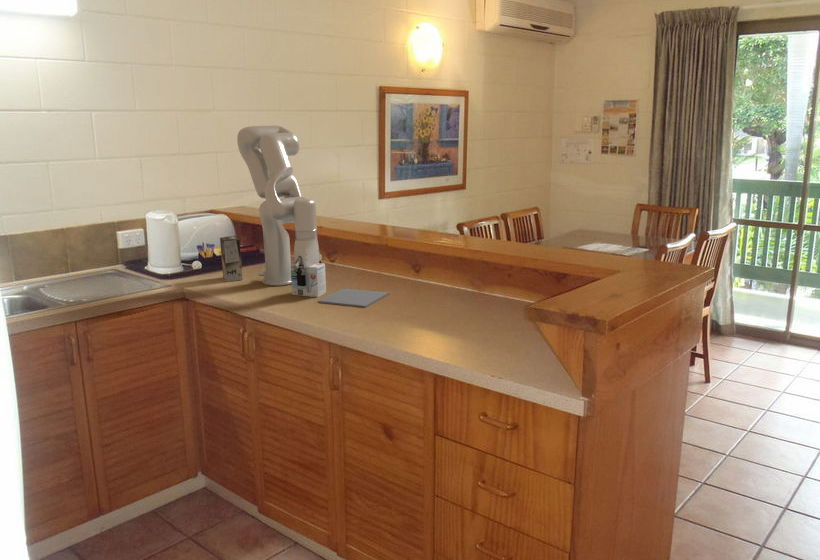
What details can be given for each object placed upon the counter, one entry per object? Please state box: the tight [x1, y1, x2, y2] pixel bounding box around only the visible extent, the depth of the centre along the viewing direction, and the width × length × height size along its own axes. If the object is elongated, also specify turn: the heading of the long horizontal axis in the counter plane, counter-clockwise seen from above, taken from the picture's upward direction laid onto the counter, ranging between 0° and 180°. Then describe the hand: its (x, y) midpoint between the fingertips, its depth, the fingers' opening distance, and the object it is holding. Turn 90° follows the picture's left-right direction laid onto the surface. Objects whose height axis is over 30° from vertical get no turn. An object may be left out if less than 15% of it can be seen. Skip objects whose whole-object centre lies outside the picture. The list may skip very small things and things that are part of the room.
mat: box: [317, 288, 389, 309], centre depth 236 cm, size 18×18×1 cm
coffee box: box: [219, 235, 244, 282], centre depth 266 cm, size 9×6×16 cm
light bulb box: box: [290, 262, 327, 298], centre depth 242 cm, size 11×7×11 cm, turn 71°
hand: (309, 282), depth 242 cm, fingers open, 9 cm apart
